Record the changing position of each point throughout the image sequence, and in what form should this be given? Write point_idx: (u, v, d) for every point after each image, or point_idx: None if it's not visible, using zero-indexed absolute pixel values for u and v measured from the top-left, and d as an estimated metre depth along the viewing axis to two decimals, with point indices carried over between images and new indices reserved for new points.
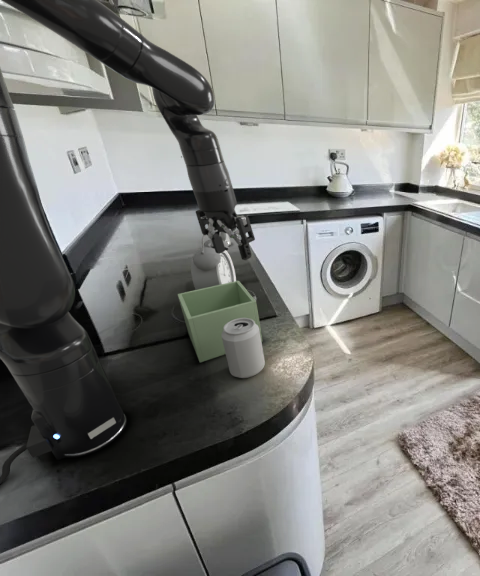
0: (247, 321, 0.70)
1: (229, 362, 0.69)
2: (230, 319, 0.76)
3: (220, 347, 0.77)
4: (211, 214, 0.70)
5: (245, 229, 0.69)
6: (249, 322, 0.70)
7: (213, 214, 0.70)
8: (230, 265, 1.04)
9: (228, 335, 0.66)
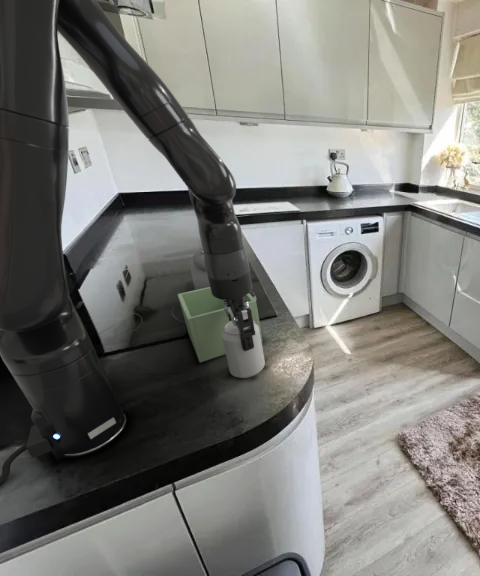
0: None
1: (229, 362, 0.69)
2: None
3: (220, 347, 0.77)
4: None
5: (244, 324, 0.61)
6: None
7: None
8: None
9: (228, 335, 0.66)
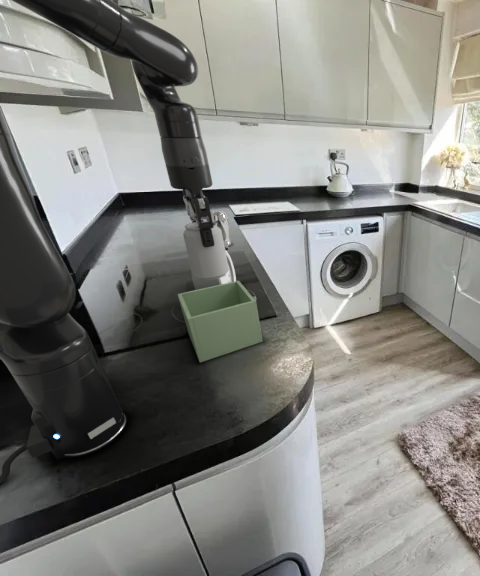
0: None
1: (191, 262, 0.70)
2: (230, 319, 0.76)
3: (220, 347, 0.77)
4: (186, 193, 0.67)
5: (201, 213, 0.63)
6: None
7: (187, 192, 0.67)
8: (230, 265, 1.04)
9: (189, 231, 0.68)
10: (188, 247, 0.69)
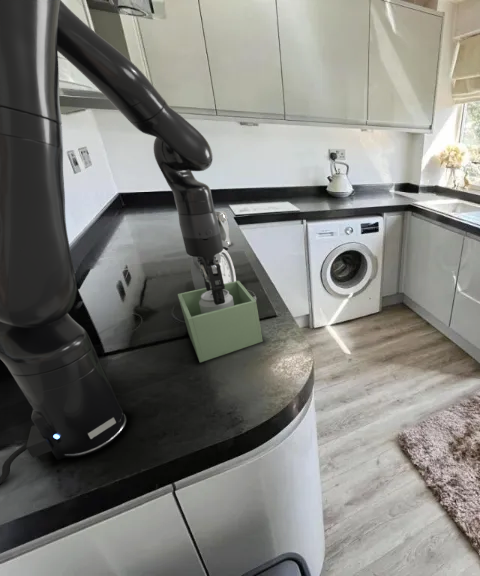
0: None
1: None
2: (230, 319, 0.76)
3: (220, 347, 0.77)
4: (200, 256, 0.75)
5: (214, 277, 0.70)
6: (224, 292, 0.80)
7: (200, 256, 0.74)
8: (230, 265, 1.04)
9: (204, 301, 0.76)
10: None
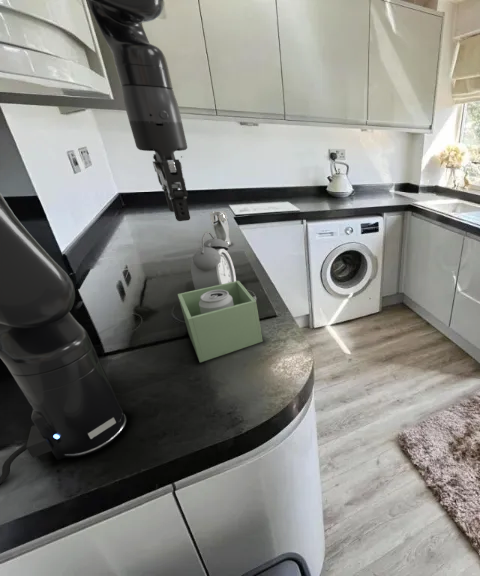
0: (222, 292, 0.81)
1: None
2: (230, 319, 0.76)
3: (220, 347, 0.77)
4: (157, 157, 0.57)
5: (171, 177, 0.53)
6: (224, 293, 0.80)
7: (157, 157, 0.57)
8: (230, 265, 1.04)
9: (204, 303, 0.76)
10: None
